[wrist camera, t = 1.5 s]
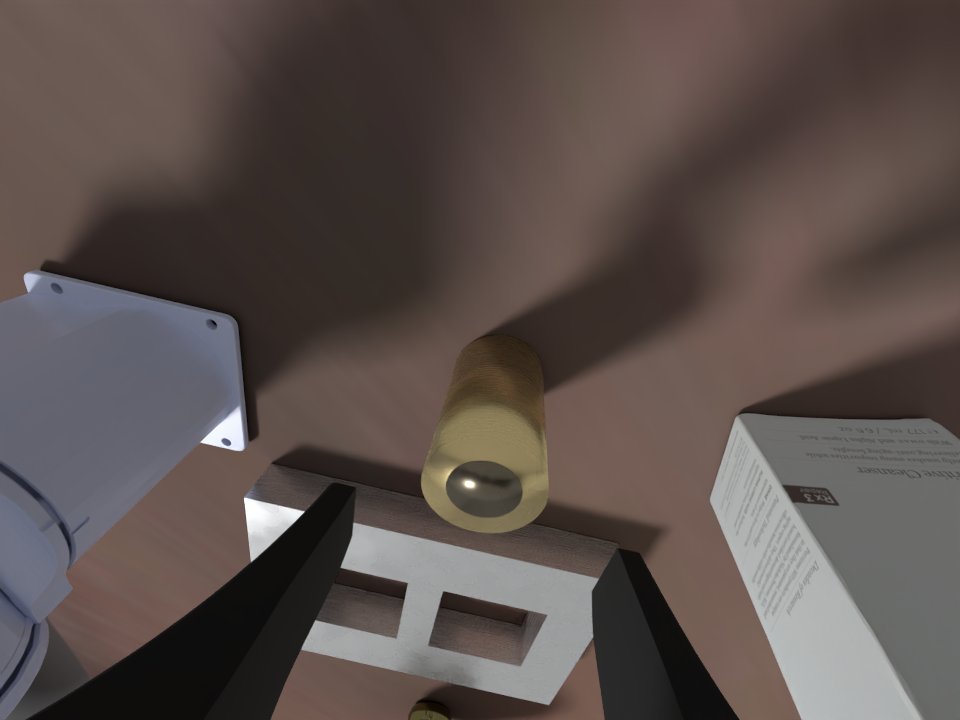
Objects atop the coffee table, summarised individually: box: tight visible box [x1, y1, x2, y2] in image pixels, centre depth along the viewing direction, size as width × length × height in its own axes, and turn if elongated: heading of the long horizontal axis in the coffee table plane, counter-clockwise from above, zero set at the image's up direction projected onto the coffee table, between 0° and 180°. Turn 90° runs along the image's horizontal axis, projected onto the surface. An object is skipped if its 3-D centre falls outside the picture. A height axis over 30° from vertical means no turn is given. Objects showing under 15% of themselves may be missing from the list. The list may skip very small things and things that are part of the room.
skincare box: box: [710, 413, 960, 720], centre depth 13 cm, size 8×6×15 cm
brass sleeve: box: [421, 335, 549, 533], centre depth 16 cm, size 4×4×7 cm
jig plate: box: [244, 463, 619, 705], centre depth 26 cm, size 20×14×2 cm
